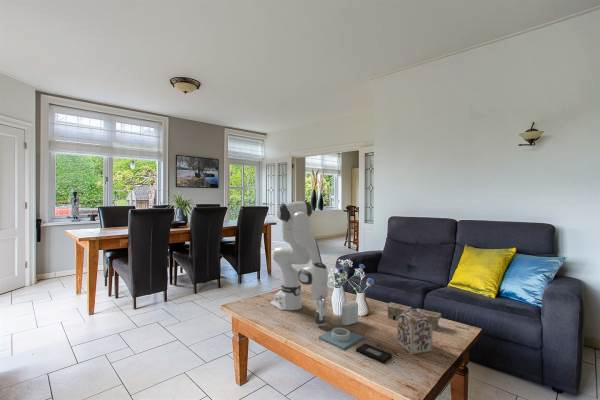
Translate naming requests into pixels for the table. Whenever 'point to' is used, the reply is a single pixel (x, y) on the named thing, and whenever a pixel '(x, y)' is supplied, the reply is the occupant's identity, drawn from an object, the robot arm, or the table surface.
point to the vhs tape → (374, 353)
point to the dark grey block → (318, 318)
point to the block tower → (397, 309)
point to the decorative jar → (414, 331)
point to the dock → (340, 343)
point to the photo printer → (350, 313)
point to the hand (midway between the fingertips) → (319, 317)
